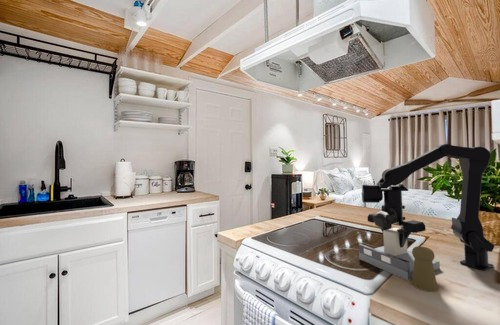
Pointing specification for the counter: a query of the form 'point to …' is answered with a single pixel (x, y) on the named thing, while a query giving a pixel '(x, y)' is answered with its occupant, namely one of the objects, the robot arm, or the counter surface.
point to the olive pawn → (424, 269)
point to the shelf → (391, 261)
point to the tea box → (393, 242)
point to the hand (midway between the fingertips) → (394, 245)
